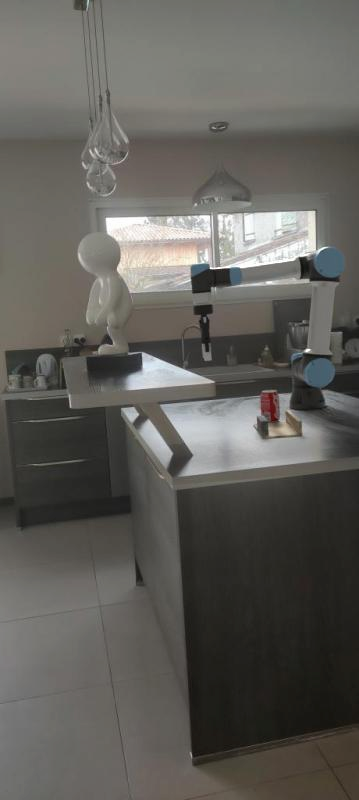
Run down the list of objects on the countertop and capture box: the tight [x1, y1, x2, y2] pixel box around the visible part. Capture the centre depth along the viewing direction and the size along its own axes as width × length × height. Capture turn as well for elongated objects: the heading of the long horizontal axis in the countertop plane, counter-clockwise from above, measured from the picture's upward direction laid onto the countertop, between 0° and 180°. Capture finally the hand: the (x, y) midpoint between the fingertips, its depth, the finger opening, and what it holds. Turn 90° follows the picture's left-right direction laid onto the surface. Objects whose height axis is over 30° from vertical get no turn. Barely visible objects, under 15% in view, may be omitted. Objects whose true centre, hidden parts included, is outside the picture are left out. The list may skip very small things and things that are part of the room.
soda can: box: [260, 389, 281, 423], centre depth 221 cm, size 7×7×12 cm
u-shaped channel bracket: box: [253, 409, 303, 440], centre depth 206 cm, size 13×22×6 cm, turn 1°
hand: (207, 359), depth 227 cm, fingers open, 13 cm apart
